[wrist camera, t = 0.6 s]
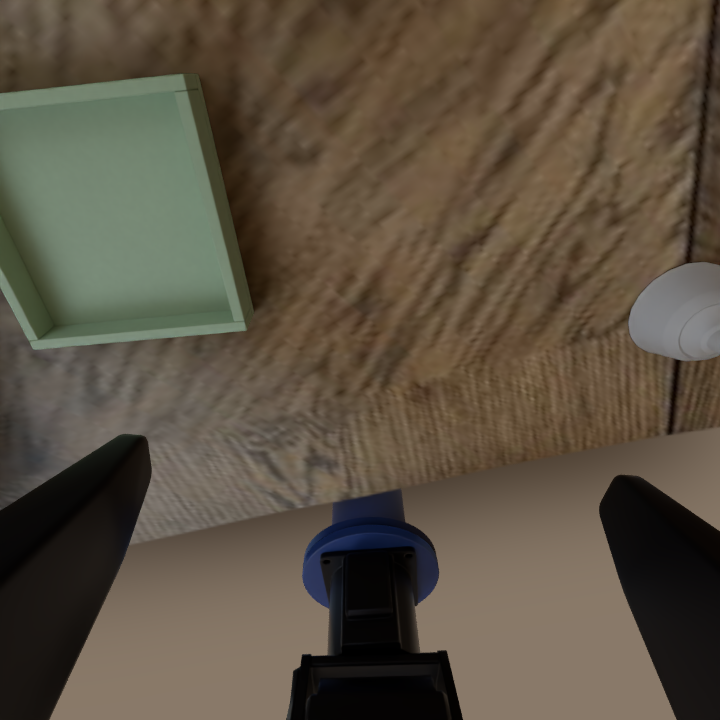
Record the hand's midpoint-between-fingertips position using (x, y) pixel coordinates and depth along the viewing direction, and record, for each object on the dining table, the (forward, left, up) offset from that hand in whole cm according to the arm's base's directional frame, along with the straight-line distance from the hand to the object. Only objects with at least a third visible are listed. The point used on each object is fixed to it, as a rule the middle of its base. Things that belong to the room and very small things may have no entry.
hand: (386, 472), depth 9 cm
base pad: (+2, +11, -14) cm, 18 cm away
